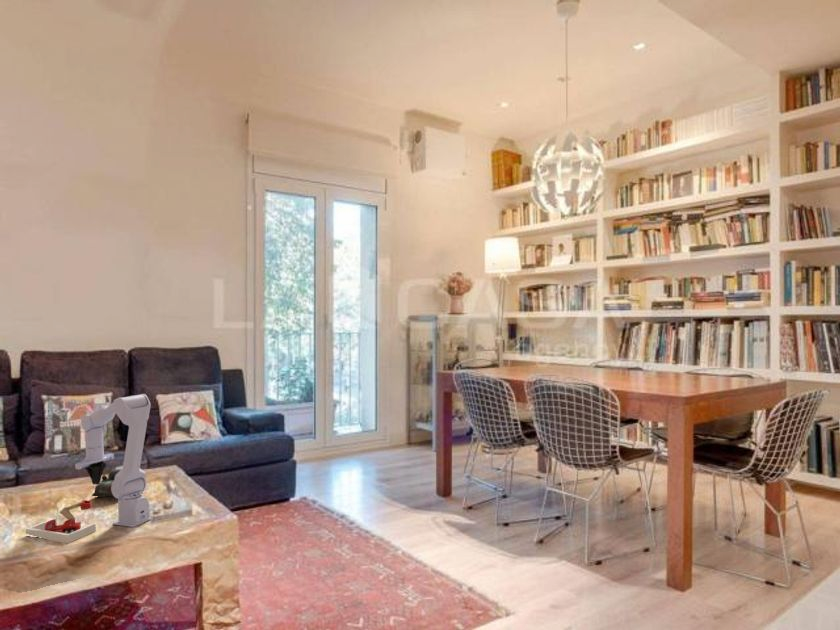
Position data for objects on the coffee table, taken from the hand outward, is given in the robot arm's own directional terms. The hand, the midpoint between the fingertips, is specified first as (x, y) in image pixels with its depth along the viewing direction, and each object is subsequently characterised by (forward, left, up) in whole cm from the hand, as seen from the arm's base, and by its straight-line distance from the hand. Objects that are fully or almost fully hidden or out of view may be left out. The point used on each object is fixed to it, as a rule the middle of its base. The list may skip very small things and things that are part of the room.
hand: (96, 483), depth 213 cm
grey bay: (-6, +19, -10) cm, 22 cm away
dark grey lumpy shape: (+9, -15, -11) cm, 21 cm away
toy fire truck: (-7, +17, -11) cm, 21 cm away
